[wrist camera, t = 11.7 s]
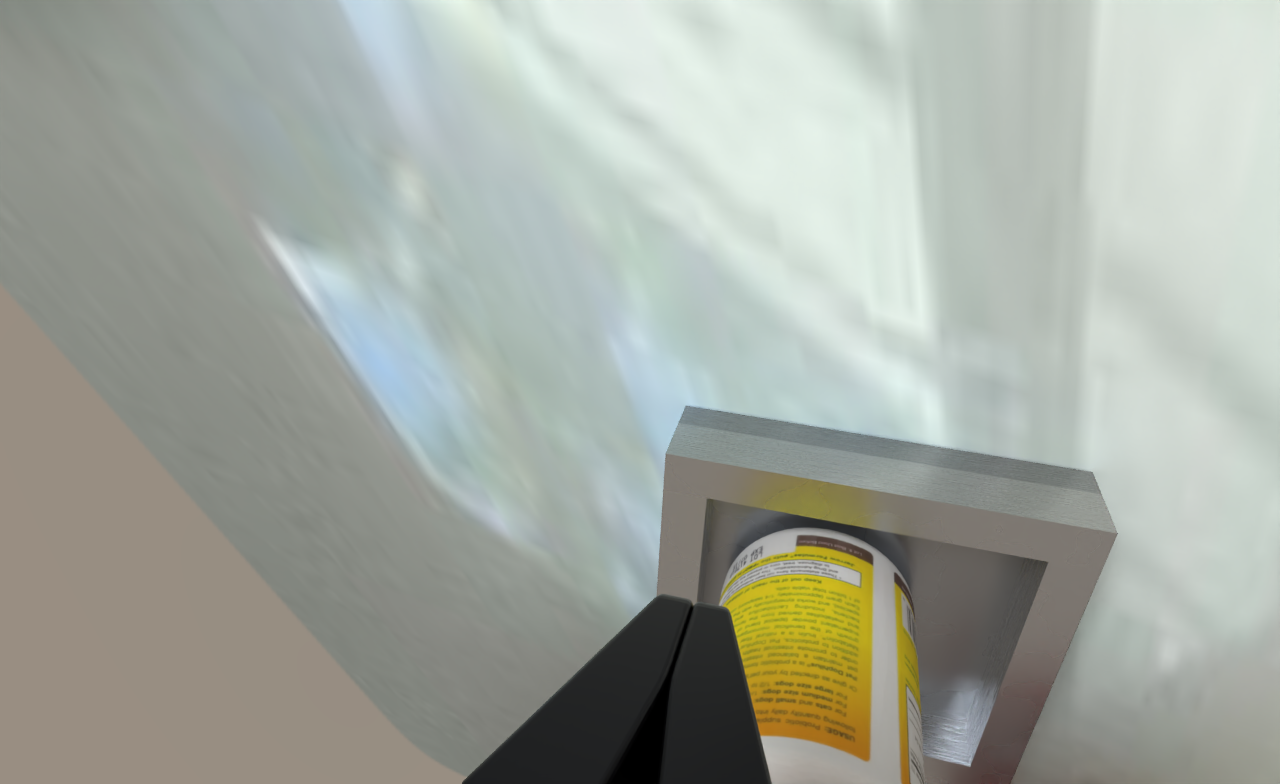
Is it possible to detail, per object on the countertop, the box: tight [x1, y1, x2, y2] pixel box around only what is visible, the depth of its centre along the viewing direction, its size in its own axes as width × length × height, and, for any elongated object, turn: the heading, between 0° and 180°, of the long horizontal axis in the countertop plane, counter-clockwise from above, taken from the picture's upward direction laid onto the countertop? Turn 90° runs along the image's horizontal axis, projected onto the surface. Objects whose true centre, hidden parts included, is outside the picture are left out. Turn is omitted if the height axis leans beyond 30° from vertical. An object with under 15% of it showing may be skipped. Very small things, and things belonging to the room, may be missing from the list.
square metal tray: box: [657, 406, 1118, 784], centre depth 24 cm, size 11×10×3 cm
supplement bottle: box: [719, 527, 925, 784], centre depth 20 cm, size 6×6×10 cm
